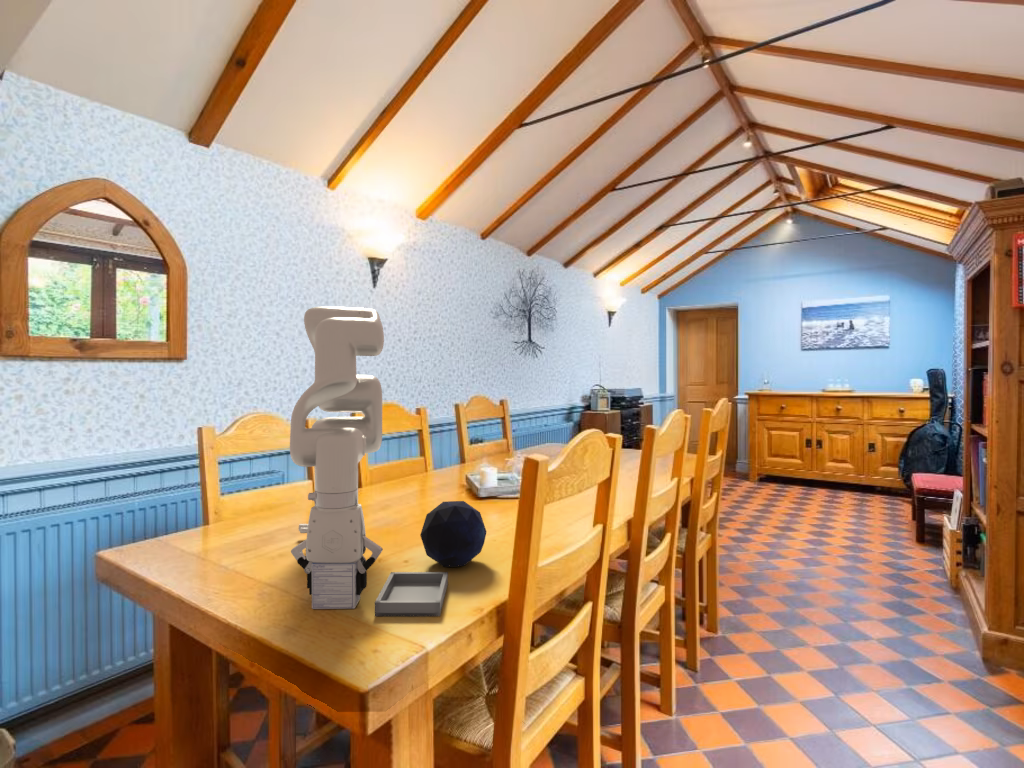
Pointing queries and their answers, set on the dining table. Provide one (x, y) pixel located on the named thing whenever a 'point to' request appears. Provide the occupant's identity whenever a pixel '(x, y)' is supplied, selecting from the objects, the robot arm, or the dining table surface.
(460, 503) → the decorative orb
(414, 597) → the tray
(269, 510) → the dining table surface
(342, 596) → the medicine box
